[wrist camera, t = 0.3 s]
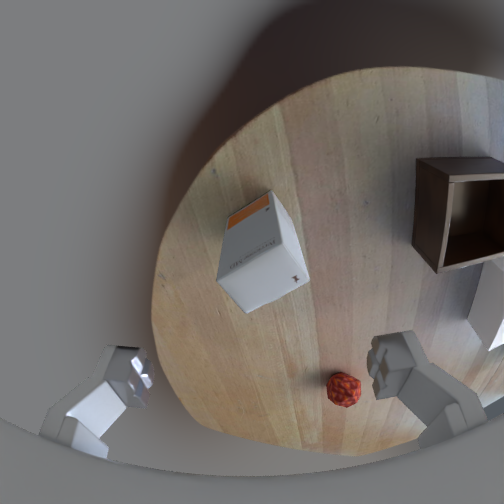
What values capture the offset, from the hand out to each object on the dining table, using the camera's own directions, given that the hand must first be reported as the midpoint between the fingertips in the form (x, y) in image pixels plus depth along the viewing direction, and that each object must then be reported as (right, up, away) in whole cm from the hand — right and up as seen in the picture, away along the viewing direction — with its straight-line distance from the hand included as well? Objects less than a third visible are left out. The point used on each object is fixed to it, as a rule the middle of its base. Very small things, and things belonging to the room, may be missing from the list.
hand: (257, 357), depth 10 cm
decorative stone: (+16, -19, +38) cm, 46 cm away
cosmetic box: (0, +7, +23) cm, 24 cm away
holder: (+26, +11, +21) cm, 35 cm away
